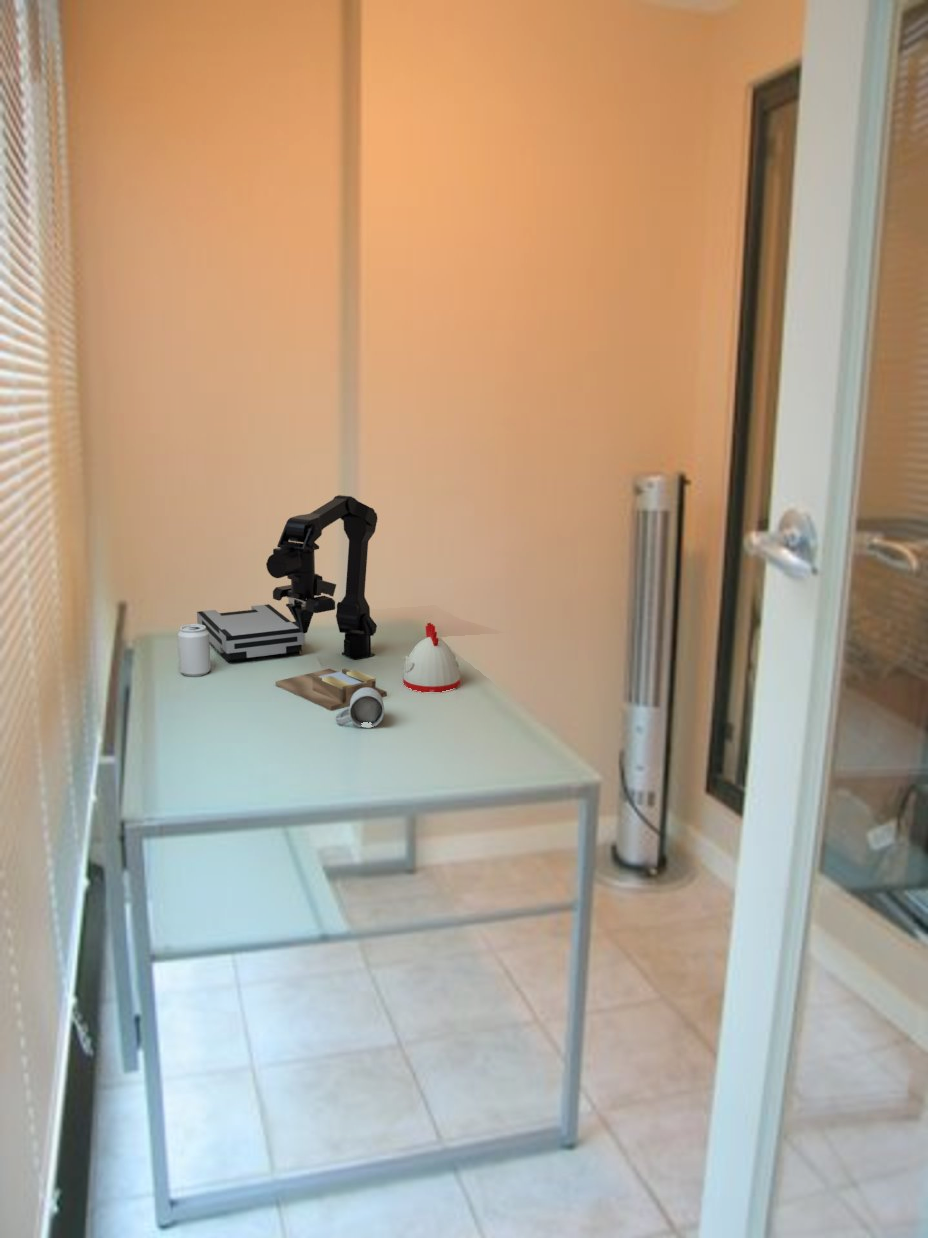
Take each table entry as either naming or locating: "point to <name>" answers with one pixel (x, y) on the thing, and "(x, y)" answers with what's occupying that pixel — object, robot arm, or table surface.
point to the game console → (252, 633)
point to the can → (194, 650)
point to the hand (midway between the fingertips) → (304, 632)
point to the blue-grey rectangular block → (342, 678)
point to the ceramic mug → (363, 708)
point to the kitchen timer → (431, 665)
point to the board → (328, 687)
